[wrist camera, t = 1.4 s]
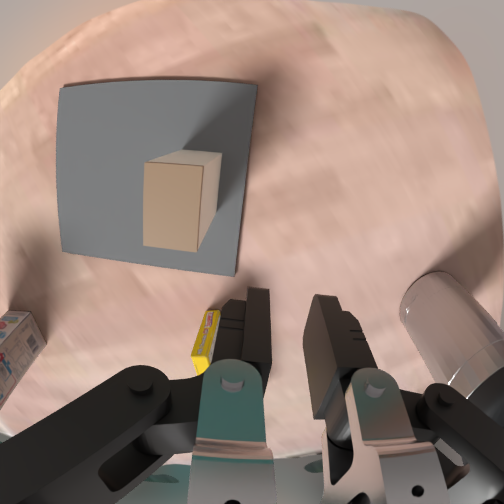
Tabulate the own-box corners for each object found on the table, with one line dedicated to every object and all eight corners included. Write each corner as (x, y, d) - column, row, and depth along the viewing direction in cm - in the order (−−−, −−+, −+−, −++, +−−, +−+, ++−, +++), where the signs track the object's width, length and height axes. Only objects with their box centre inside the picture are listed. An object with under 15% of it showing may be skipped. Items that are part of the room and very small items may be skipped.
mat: (257, 85, 26) (257, 85, 25) (234, 274, 34) (234, 276, 33) (62, 88, 25) (59, 88, 25) (64, 250, 33) (62, 251, 33)
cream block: (222, 152, 28) (202, 166, 19) (216, 212, 30) (196, 252, 21) (181, 149, 28) (144, 162, 19) (177, 208, 30) (143, 245, 21)
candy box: (202, 309, 36) (189, 356, 28) (220, 308, 36) (210, 355, 28) (223, 395, 42) (218, 439, 35) (238, 395, 42) (234, 439, 34)
